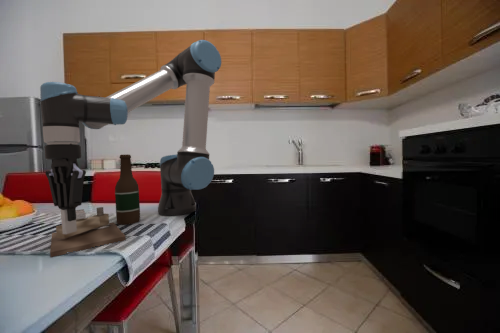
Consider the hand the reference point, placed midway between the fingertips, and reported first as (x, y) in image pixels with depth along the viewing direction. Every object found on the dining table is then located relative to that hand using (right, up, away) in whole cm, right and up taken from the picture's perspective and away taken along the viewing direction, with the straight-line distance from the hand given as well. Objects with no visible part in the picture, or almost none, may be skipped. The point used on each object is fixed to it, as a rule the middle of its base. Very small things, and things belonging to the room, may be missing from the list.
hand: (69, 232), depth 63 cm
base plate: (+2, -3, +5) cm, 6 cm away
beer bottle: (+5, -2, +21) cm, 22 cm away
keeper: (-1, -2, +10) cm, 10 cm away
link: (0, -1, +7) cm, 7 cm away
